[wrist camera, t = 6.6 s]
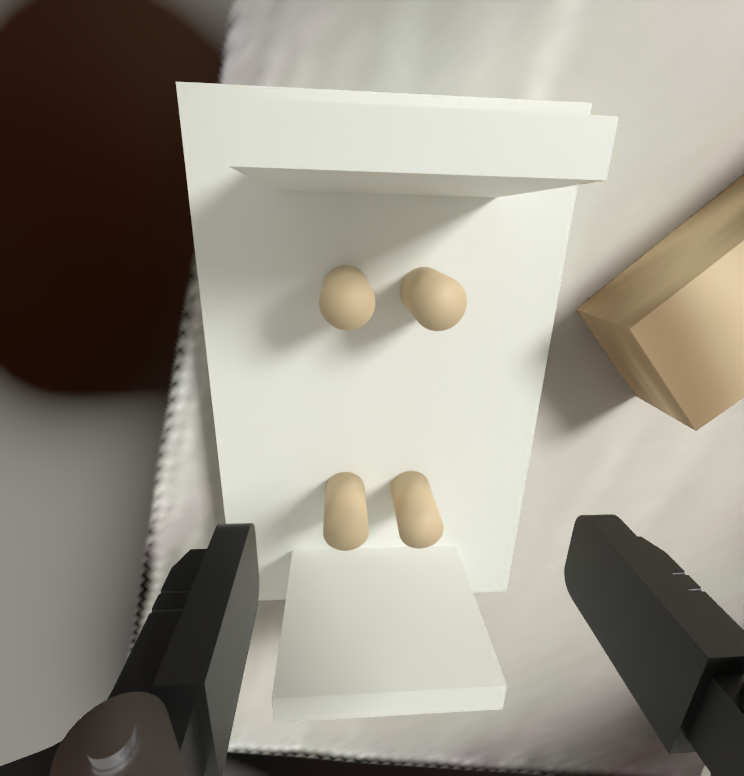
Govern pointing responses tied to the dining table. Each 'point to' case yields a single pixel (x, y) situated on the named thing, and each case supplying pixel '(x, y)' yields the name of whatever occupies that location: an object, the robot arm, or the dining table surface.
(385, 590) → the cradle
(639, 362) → the plank
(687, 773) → the dining table surface
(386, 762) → the dining table surface
